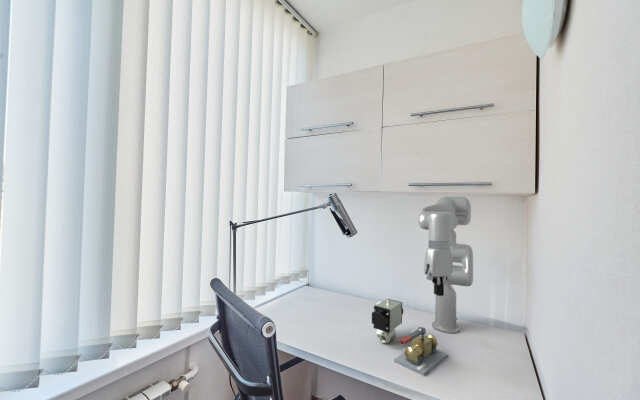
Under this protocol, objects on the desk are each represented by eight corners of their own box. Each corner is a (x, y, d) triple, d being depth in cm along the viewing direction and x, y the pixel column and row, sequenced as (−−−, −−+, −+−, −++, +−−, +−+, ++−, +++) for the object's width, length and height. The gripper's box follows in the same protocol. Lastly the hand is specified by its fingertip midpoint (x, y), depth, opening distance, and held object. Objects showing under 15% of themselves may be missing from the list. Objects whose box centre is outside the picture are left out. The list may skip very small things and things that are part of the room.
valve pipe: (425, 346, 116) (425, 325, 116) (437, 351, 112) (437, 329, 112) (404, 361, 104) (404, 336, 105) (417, 367, 100) (417, 342, 101)
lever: (420, 330, 110) (420, 326, 110) (426, 332, 108) (426, 328, 108) (398, 342, 99) (398, 338, 99) (405, 345, 97) (405, 341, 97)
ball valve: (386, 330, 133) (387, 293, 133) (403, 336, 127) (404, 297, 128) (368, 344, 119) (368, 302, 120) (386, 350, 114) (387, 307, 114)
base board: (419, 345, 119) (419, 342, 119) (447, 356, 110) (447, 353, 110) (394, 361, 106) (394, 358, 106) (424, 375, 97) (424, 372, 97)
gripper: (446, 243, 109) (446, 290, 109) (416, 244, 104) (415, 293, 104) (462, 246, 102) (462, 296, 102) (430, 247, 97) (430, 300, 97)
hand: (438, 294), depth 103 cm, fingers closed
